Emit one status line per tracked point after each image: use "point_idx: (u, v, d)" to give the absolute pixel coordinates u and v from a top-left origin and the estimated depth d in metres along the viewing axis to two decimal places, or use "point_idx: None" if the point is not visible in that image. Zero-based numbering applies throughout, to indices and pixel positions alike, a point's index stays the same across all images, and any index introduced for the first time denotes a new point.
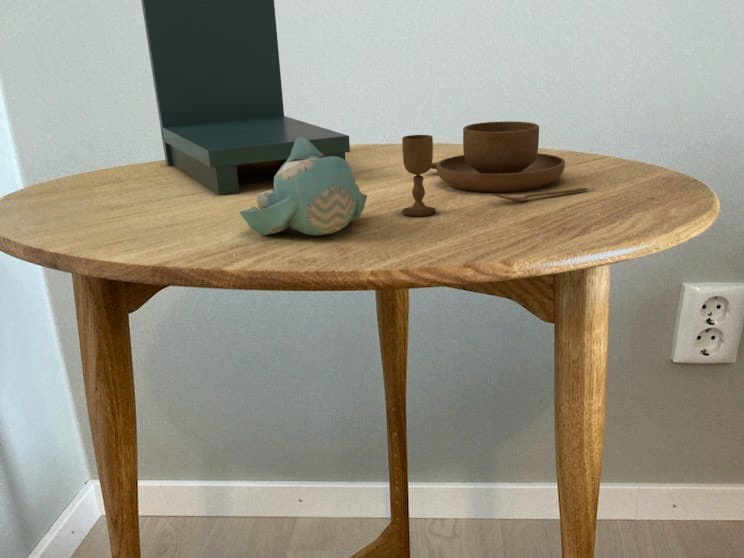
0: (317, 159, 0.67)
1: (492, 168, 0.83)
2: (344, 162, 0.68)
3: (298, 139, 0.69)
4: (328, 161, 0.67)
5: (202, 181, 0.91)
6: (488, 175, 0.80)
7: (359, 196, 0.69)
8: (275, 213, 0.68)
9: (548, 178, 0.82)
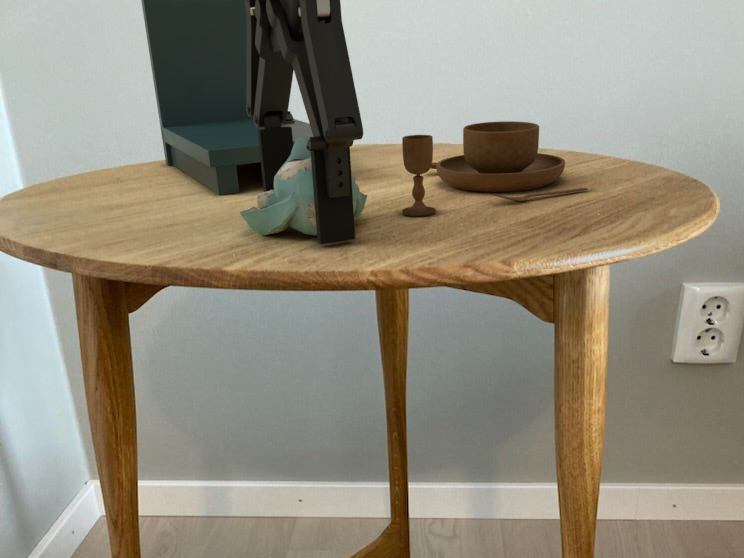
0: None
1: (492, 168, 0.83)
2: None
3: (298, 139, 0.69)
4: None
5: (202, 181, 0.91)
6: (488, 175, 0.80)
7: (359, 196, 0.69)
8: (275, 213, 0.68)
9: (548, 178, 0.82)
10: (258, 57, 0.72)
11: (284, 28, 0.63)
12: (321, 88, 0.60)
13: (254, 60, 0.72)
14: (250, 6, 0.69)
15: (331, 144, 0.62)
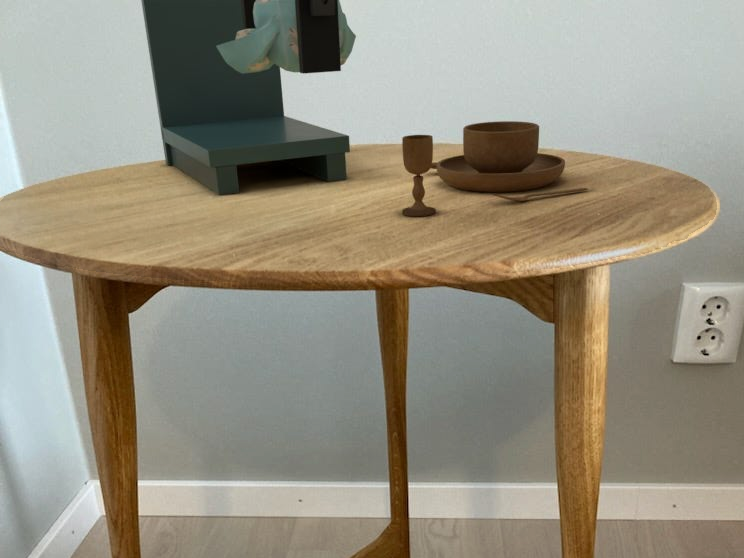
0: None
1: (492, 168, 0.83)
2: None
3: None
4: None
5: (202, 181, 0.91)
6: (488, 175, 0.80)
7: (346, 27, 0.63)
8: (254, 42, 0.62)
9: (548, 178, 0.82)
10: None
11: None
12: None
13: None
14: None
15: None
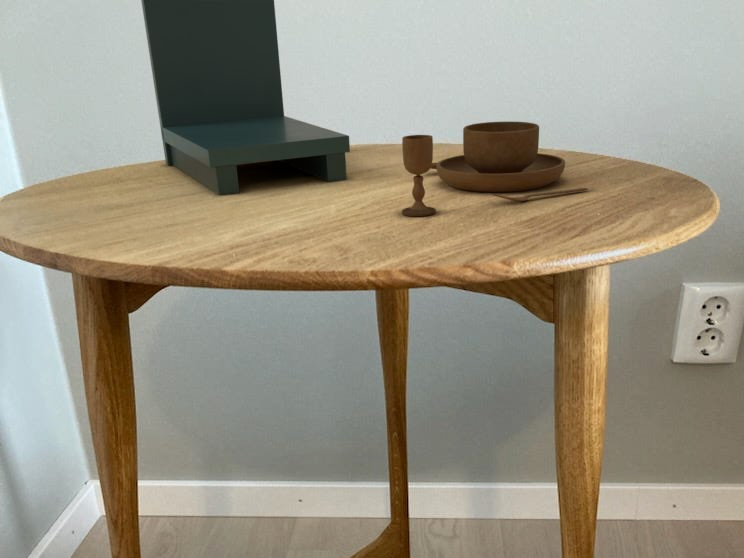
0: None
1: (492, 168, 0.83)
2: None
3: None
4: None
5: (202, 181, 0.91)
6: (488, 175, 0.80)
7: None
8: None
9: (548, 178, 0.82)
10: None
11: None
12: None
13: None
14: None
15: None
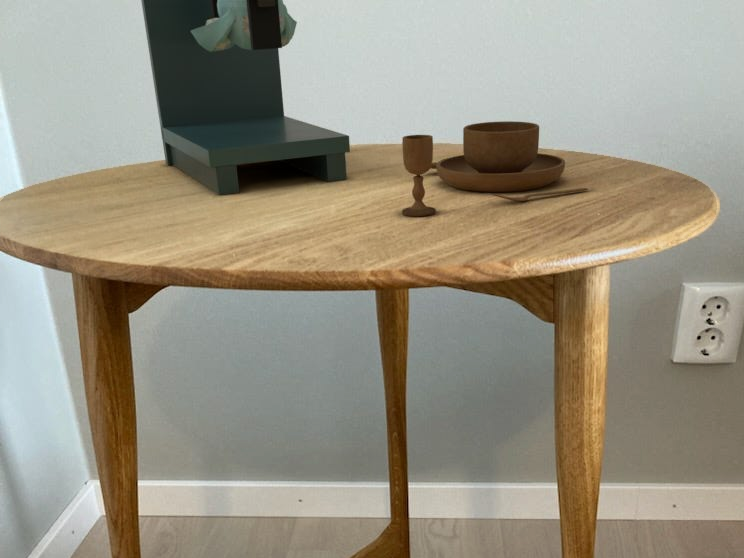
0: None
1: (492, 168, 0.83)
2: None
3: None
4: None
5: (202, 181, 0.91)
6: (488, 175, 0.80)
7: (287, 15, 0.85)
8: (218, 27, 0.84)
9: (548, 178, 0.82)
10: None
11: None
12: None
13: None
14: None
15: None
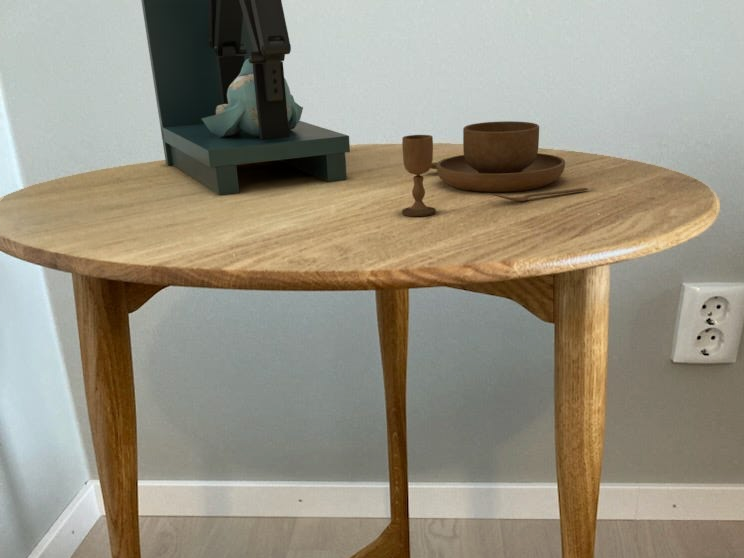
0: None
1: (492, 168, 0.83)
2: None
3: (246, 60, 0.89)
4: None
5: (202, 181, 0.91)
6: (488, 175, 0.80)
7: (294, 104, 0.89)
8: (228, 117, 0.88)
9: (548, 178, 0.82)
10: None
11: None
12: (258, 13, 0.80)
13: (214, 0, 0.92)
14: None
15: (267, 57, 0.82)
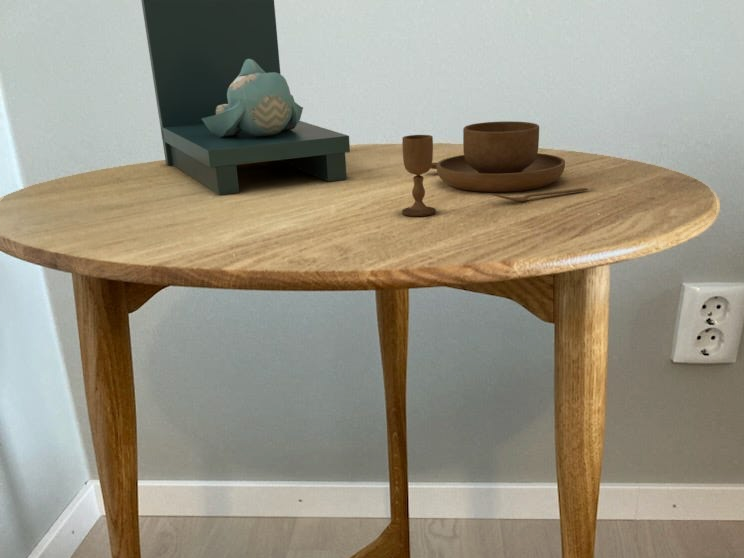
0: (260, 74, 0.87)
1: (492, 168, 0.83)
2: (281, 77, 0.87)
3: (246, 60, 0.89)
4: (268, 76, 0.87)
5: (202, 181, 0.91)
6: (488, 175, 0.80)
7: (294, 104, 0.89)
8: (228, 117, 0.88)
9: (548, 178, 0.82)
10: None
11: None
12: None
13: None
14: None
15: None
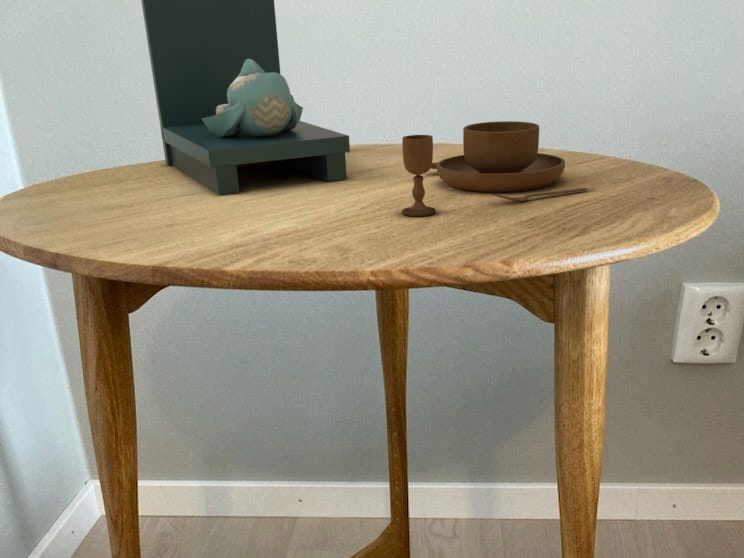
0: (260, 74, 0.87)
1: (492, 168, 0.83)
2: (281, 77, 0.87)
3: (246, 60, 0.89)
4: (268, 75, 0.87)
5: (202, 181, 0.91)
6: (488, 175, 0.80)
7: (294, 104, 0.89)
8: (228, 117, 0.88)
9: (548, 178, 0.82)
10: None
11: None
12: None
13: None
14: None
15: None
